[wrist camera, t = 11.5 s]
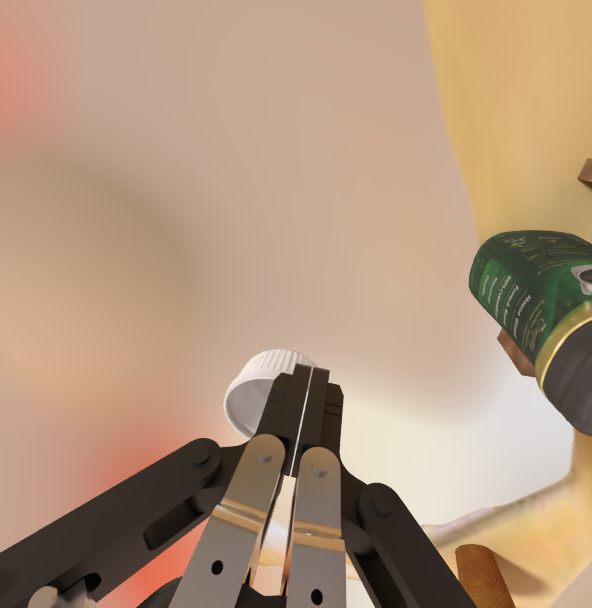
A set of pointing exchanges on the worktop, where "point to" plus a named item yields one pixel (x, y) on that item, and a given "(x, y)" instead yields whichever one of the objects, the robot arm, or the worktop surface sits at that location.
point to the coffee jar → (544, 310)
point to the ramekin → (259, 388)
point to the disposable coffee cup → (482, 577)
